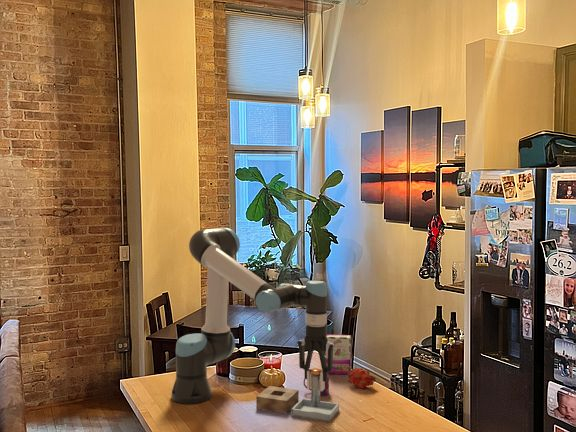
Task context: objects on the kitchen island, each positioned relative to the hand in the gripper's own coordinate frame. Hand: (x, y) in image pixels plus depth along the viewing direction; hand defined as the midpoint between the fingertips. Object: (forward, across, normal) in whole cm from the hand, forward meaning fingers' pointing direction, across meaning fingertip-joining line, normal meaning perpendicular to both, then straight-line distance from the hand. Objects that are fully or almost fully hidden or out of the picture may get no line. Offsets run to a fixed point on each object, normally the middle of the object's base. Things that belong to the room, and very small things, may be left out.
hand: (315, 388), depth 207 cm
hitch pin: (+6, 0, 0) cm, 6 cm away
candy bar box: (+9, -6, +47) cm, 48 cm away
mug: (+9, -7, +20) cm, 23 cm away
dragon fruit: (+9, +8, +33) cm, 35 cm away
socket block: (+9, -16, +2) cm, 18 cm away
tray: (+9, 0, 0) cm, 9 cm away
